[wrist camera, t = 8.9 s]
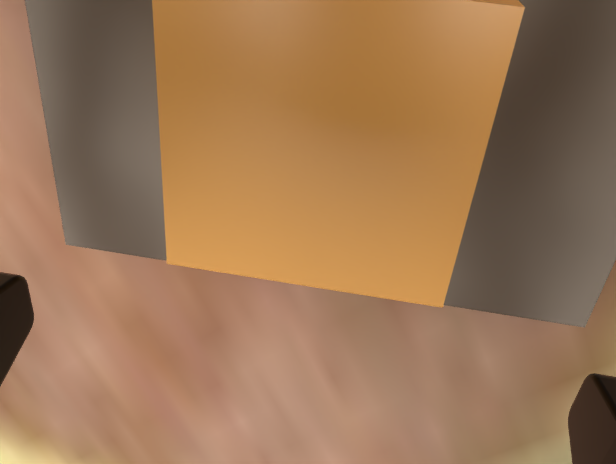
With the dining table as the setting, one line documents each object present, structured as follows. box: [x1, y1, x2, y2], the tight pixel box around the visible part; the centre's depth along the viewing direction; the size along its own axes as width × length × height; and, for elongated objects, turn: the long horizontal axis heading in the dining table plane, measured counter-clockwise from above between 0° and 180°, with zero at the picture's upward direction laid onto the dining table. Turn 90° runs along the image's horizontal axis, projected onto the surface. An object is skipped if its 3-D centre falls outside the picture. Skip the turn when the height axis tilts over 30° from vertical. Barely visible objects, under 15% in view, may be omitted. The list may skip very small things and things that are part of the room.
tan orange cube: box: [152, 0, 525, 308], centre depth 15 cm, size 7×7×6 cm
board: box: [25, 0, 616, 327], centre depth 18 cm, size 20×16×1 cm
